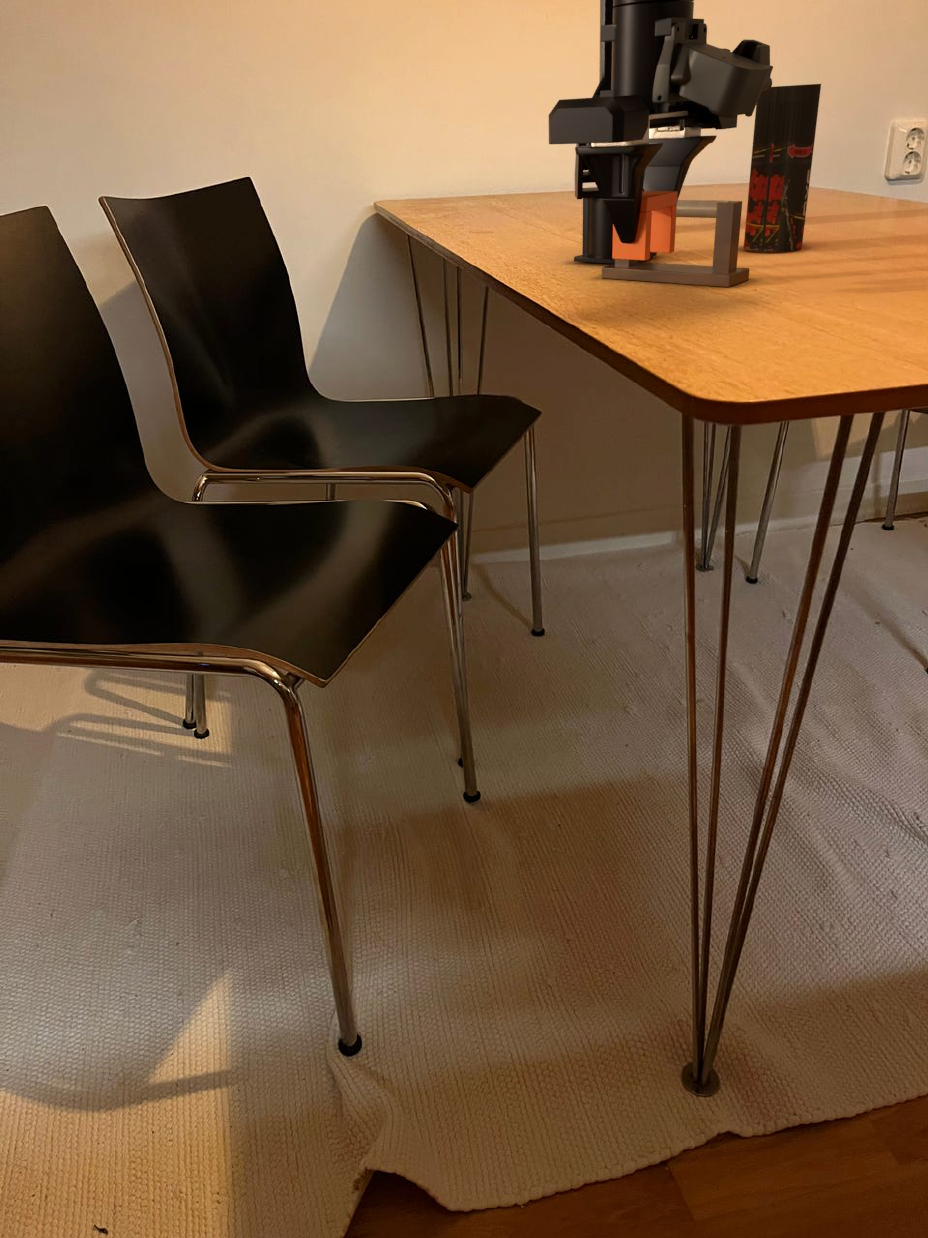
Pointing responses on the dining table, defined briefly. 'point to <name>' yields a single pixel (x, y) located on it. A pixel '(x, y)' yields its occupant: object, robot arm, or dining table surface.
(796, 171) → the deodorant
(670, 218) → the clip
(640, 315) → the dining table surface
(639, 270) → the rack
